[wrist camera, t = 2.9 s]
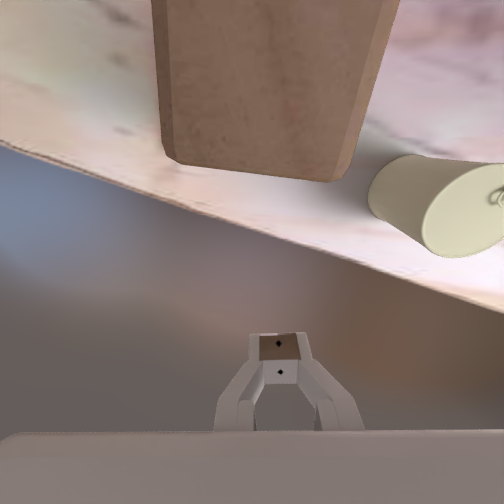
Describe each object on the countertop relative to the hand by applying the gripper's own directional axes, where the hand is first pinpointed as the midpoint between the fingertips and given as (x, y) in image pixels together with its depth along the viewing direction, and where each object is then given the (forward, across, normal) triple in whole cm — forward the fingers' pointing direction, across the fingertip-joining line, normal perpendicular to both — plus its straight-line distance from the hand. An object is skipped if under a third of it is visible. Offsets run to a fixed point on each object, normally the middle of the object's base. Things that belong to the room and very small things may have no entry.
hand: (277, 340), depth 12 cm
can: (+23, -19, -2) cm, 30 cm away
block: (+24, 0, -13) cm, 27 cm away
